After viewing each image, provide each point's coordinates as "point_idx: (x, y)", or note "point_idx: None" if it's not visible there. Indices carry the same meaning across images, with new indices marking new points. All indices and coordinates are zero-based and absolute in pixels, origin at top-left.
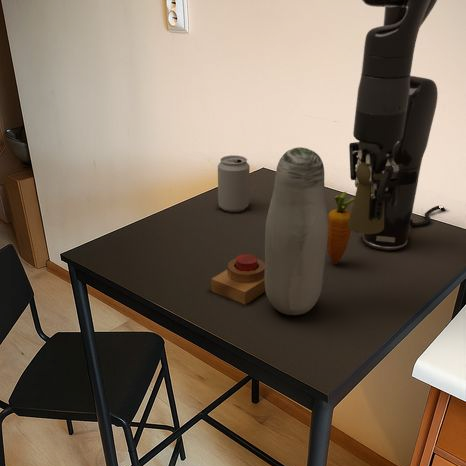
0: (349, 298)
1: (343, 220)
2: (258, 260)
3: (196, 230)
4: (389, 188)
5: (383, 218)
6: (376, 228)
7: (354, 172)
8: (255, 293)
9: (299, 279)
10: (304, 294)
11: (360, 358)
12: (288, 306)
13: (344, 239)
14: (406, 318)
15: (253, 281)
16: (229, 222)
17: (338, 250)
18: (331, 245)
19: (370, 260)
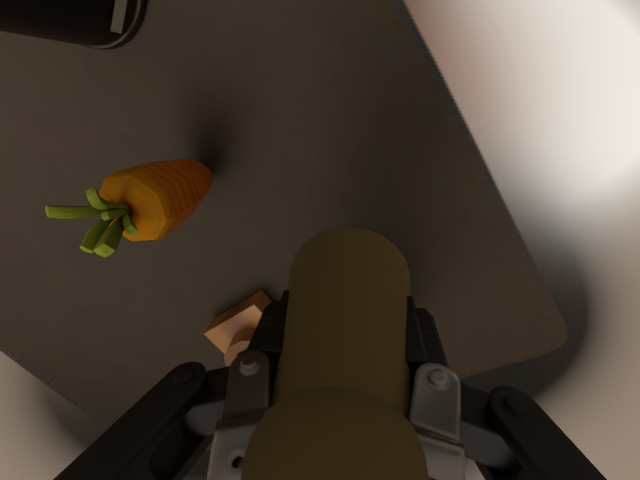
0: (347, 204)
1: (168, 215)
2: (240, 345)
3: (71, 337)
4: (514, 448)
5: (393, 269)
6: (410, 287)
7: (200, 452)
8: None
9: None
10: None
11: (531, 272)
12: None
13: (194, 186)
14: (461, 129)
15: None
16: (30, 285)
17: (208, 189)
18: (197, 206)
19: (194, 77)
